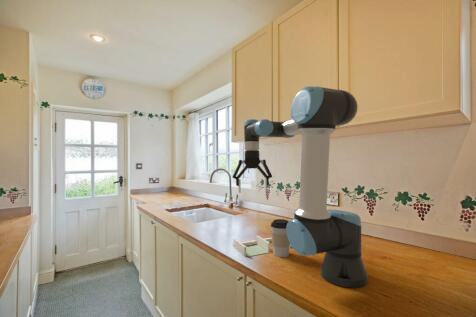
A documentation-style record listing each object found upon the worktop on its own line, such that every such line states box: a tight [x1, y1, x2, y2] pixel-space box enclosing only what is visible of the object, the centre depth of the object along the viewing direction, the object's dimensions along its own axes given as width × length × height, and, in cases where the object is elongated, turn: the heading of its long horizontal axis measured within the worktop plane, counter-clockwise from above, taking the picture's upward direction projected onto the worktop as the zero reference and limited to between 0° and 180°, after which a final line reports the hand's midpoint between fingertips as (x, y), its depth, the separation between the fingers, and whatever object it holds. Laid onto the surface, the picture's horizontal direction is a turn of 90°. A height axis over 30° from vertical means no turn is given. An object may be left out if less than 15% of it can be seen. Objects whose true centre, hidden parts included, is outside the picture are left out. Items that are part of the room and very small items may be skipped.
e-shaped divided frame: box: [232, 235, 293, 257], centre depth 115 cm, size 13×25×4 cm, turn 114°
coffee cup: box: [270, 218, 290, 258], centre depth 106 cm, size 9×9×15 cm
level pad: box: [245, 244, 270, 257], centre depth 110 cm, size 10×10×1 cm
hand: (252, 192), depth 121 cm, fingers open, 13 cm apart
